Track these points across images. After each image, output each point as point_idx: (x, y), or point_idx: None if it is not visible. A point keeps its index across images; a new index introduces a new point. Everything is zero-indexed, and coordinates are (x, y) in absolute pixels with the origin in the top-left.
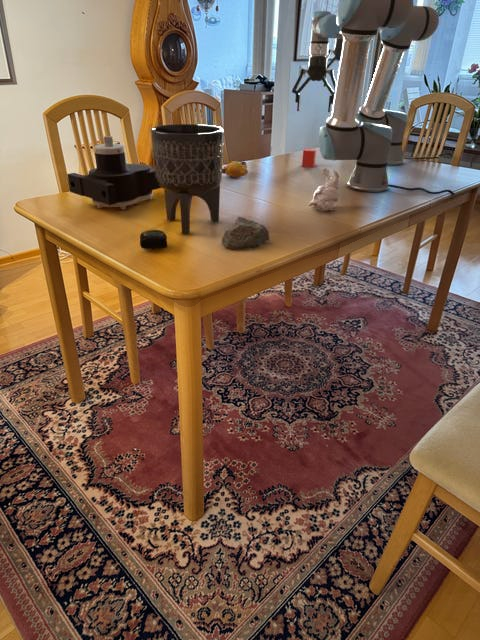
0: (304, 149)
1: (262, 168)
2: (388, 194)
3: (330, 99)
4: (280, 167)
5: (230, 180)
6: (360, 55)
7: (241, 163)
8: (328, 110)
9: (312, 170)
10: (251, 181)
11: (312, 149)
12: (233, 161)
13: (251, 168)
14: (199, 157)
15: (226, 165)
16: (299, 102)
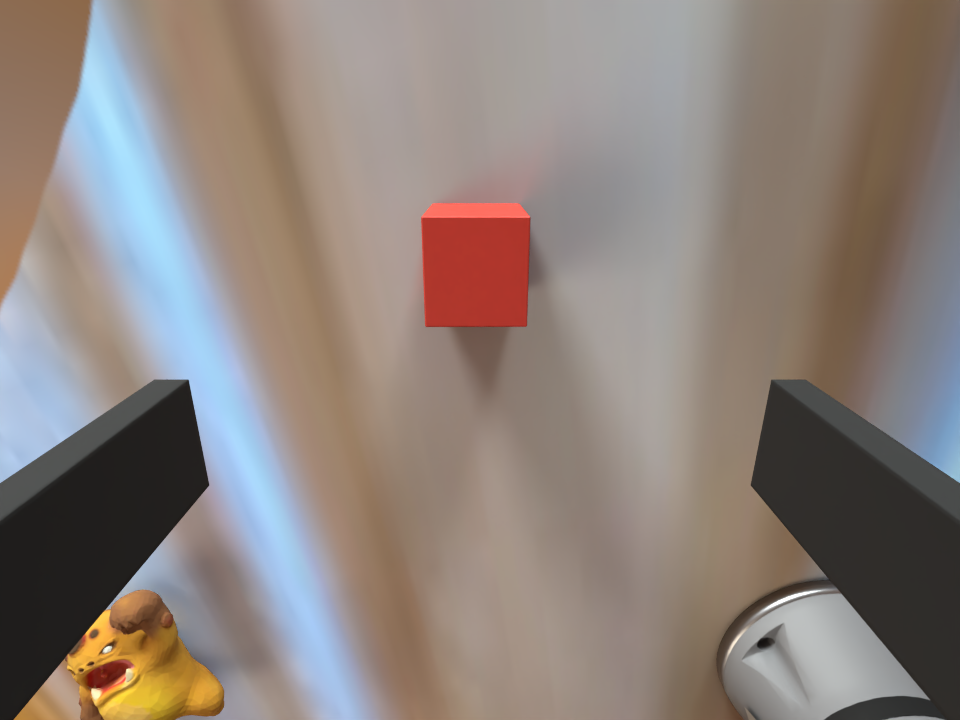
0: (426, 277)
1: (208, 440)
2: None
3: (943, 671)
4: (303, 374)
5: None
6: None
7: (127, 634)
8: (773, 502)
9: (521, 389)
10: (274, 698)
11: (496, 249)
12: (105, 714)
13: None
14: None
15: (71, 670)
16: (113, 572)
